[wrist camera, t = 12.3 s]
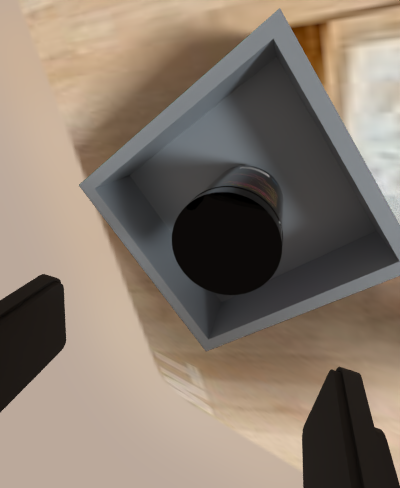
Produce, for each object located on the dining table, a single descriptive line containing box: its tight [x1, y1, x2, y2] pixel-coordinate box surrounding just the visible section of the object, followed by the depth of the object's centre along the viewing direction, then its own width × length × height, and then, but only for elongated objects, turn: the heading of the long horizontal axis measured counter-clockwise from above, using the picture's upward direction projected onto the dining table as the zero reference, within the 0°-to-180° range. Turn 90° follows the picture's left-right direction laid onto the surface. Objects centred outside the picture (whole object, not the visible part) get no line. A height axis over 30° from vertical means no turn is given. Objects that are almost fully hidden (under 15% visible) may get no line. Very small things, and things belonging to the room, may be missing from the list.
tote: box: [79, 8, 400, 351], centre depth 25 cm, size 18×18×7 cm
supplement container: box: [172, 165, 284, 295], centre depth 23 cm, size 7×7×10 cm
